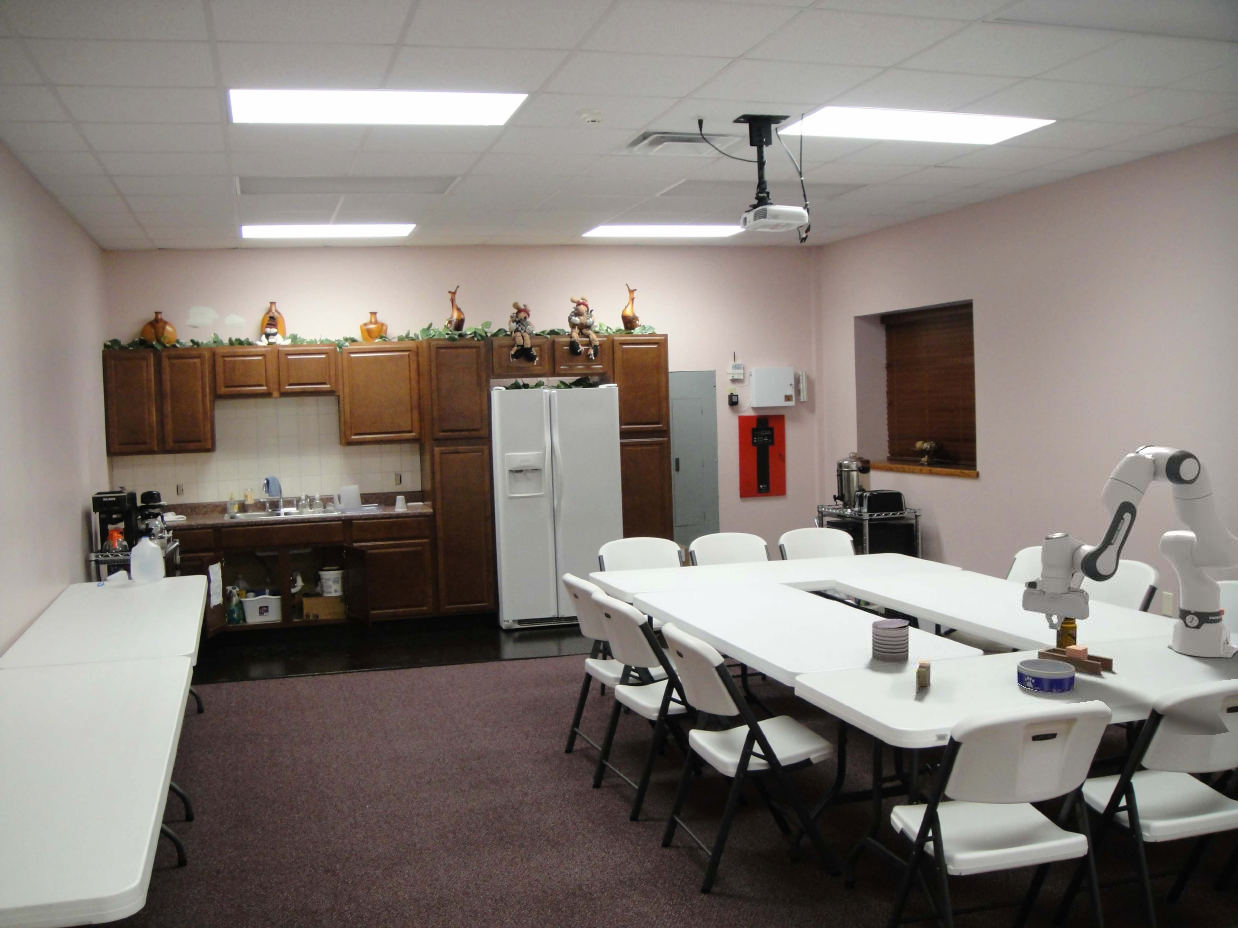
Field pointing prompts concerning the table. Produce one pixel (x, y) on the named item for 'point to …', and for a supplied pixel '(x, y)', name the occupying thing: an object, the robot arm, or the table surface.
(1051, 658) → the channel
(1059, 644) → the condiment
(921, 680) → the model
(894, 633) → the can
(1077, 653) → the block
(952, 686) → the table surface
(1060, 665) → the dog bowl
